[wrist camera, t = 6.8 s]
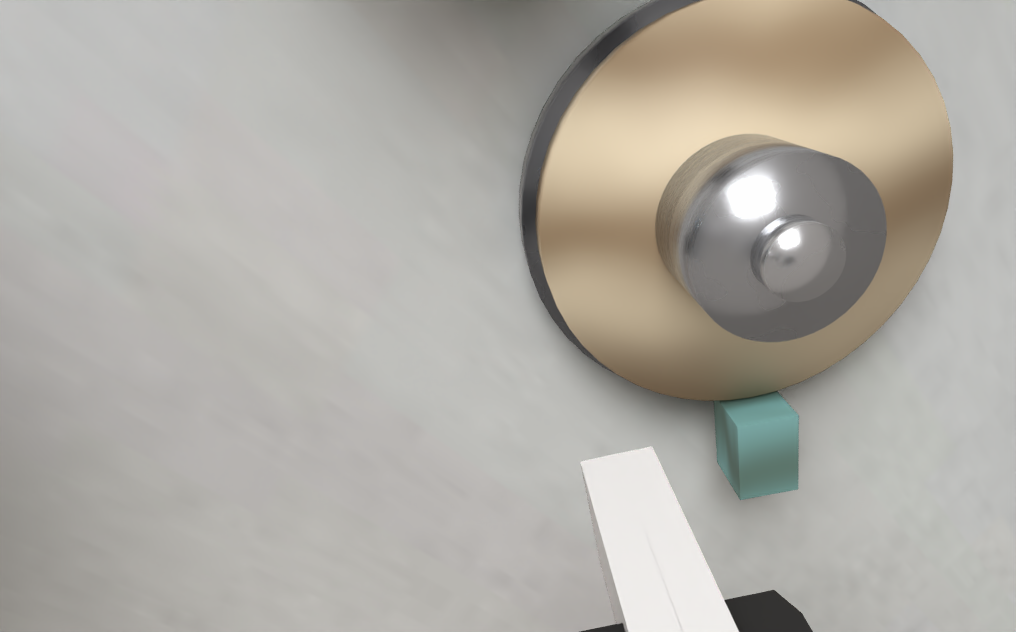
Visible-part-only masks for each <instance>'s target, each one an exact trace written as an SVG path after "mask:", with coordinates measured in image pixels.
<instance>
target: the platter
mask: <svg viewBox="0 0 1016 632" xmlns="http://www.w3.org/2000/svg"><path fill="white" fill-rule="evenodd" d="M739 134H762V135H768V136H771V137H774V138H778V139H781V140H784V141H787V142H790V143H793V144H797V145H800V146H803V147H806V148H809V149H813V150H816V151H819V152H822V153H825V154H829V155H832V156H835V157H838V158H841V159H843V160H845V161H847V162H849V163H851V164H853V165H854V166H855V167H857V168H858V169H860V170H861V171H862V172H863V173H864V174H865V175H866V176H867V177H868V178H869V179H870V180H871V182H872V183H873V185H874V186H875V187H876V189H877V191H878V193H879V195H880V197H881V199H882V203H883V206H884V209H885V215H886V221H887V236H886V244H885V249H884V253H883V257H882V260H881V263H880V265H879V268H878V270H877V272H876V274H875V276H874V278H873V280H872V282H871V283H870V285H869V286H868V288H867V289H866V291H865V292H864V294H863V295H862V296H861V297H860V298H859V300H858V301H857V302H856V303H855V304H854V305H853V306H852V307H851V308H850V309H849V310H848V311H847V312H846V313H845V314H843V315H842V316H841V317H839V318H838V319H837V320H836V321H834V322H833V323H831V324H829V325H828V326H826V327H825V328H823V329H821V330H819V331H817V332H815V333H812V334H810V335H807V336H804V337H801V338H797V339H794V340H790V341H782V342H759V341H752V340H748V339H744V338H741V337H739V336H736V335H734V334H732V333H730V332H728V331H726V330H725V329H723V328H722V327H721V326H719V325H718V324H717V323H716V322H714V320H713V319H712V318H711V317H710V316H709V315H708V314H707V313H706V312H705V311H704V309H703V308H702V307H701V306H700V305H699V304H698V303H697V302H696V301H695V299H694V298H693V297H692V296H691V295H690V294H689V293H688V292H687V291H686V289H685V288H684V287H683V286H682V285H681V284H680V283H679V282H678V281H677V279H676V278H675V277H674V276H673V275H672V274H671V273H670V272H669V270H668V269H667V267H666V266H665V264H664V262H663V260H662V258H661V256H660V254H659V250H658V247H657V242H656V236H655V221H656V213H657V209H658V205H659V202H660V199H661V196H662V194H663V191H664V189H665V188H666V186H667V184H668V182H669V180H670V179H671V178H672V176H673V175H674V173H675V172H676V171H677V170H678V168H679V167H680V166H681V165H682V164H683V163H684V162H685V161H686V160H687V159H688V158H689V157H690V156H691V155H693V154H694V153H696V152H697V151H698V150H700V149H701V148H703V147H705V146H706V145H708V144H710V143H712V142H714V141H717V140H719V139H722V138H725V137H729V136H733V135H739ZM952 173H953V147H952V137H951V127H950V123H949V119H948V115H947V111H946V107H945V103H944V100H943V98H942V96H941V93H940V91H939V88H938V86H937V84H936V81H935V79H934V77H933V75H932V73H931V72H930V70H929V69H928V67H927V65H926V64H925V62H924V61H923V59H922V57H921V56H920V54H919V53H918V52H917V51H916V50H915V49H914V47H913V46H912V45H911V44H910V43H909V42H908V41H907V39H906V38H905V37H904V36H903V35H902V34H901V33H900V32H898V31H897V30H896V29H895V28H894V27H892V26H891V25H890V24H889V23H887V22H886V21H885V20H884V19H882V18H881V17H880V16H878V15H876V14H874V13H872V12H871V11H869V10H867V9H865V8H864V7H862V6H860V5H858V4H856V3H853V2H851V1H848V0H700V1H696V2H693V3H691V4H688V5H686V6H684V7H681V8H679V9H676V10H674V11H672V12H669V13H667V14H665V15H663V16H662V17H660V18H658V19H656V20H655V21H653V22H651V23H650V24H648V25H646V26H644V27H643V28H641V29H639V30H638V31H637V32H636V33H634V34H633V35H632V36H630V37H629V38H628V39H626V40H625V41H624V42H623V43H621V44H620V45H619V46H617V47H616V48H615V49H614V50H613V51H612V52H611V53H610V54H609V55H608V56H607V57H606V58H605V59H604V60H603V61H602V62H601V63H600V64H599V65H598V66H597V67H596V68H595V69H594V70H593V71H592V73H591V74H590V75H589V76H588V78H587V79H586V80H585V81H584V83H583V84H582V85H581V87H580V88H579V89H578V90H577V92H576V93H575V95H574V96H573V98H572V100H571V101H570V103H569V105H568V106H567V108H566V109H565V111H564V113H563V114H562V116H561V118H560V120H559V122H558V124H557V127H556V129H555V131H554V133H553V136H552V138H551V140H550V142H549V145H548V148H547V152H546V155H545V158H544V161H543V165H542V168H541V172H540V178H539V184H538V190H537V196H536V219H535V224H536V234H537V244H538V250H539V255H540V259H541V263H542V267H543V271H544V274H545V277H546V280H547V282H548V285H549V288H550V290H551V293H552V295H553V298H554V300H555V303H556V306H557V308H558V309H559V311H560V313H561V315H562V316H563V318H564V320H565V322H566V324H567V325H568V327H569V328H570V330H571V331H572V332H573V334H574V335H575V336H576V337H577V339H578V340H579V341H580V343H581V344H582V345H583V346H584V347H585V348H586V349H587V350H588V351H589V352H590V353H591V354H592V355H593V356H594V357H595V358H596V359H597V360H598V361H599V362H601V363H602V364H603V365H605V366H606V367H608V368H609V369H610V370H612V371H613V372H615V373H616V374H617V375H619V376H621V377H623V378H625V379H627V380H628V381H630V382H632V383H634V384H636V385H638V386H641V387H643V388H646V389H649V390H651V391H654V392H657V393H660V394H664V395H669V396H673V397H678V398H683V399H692V400H702V401H714V413H715V431H716V448H717V462H718V464H719V466H720V467H721V469H722V471H723V472H724V474H725V476H726V477H727V479H728V480H729V482H730V484H731V485H732V487H733V489H734V490H735V492H736V494H737V495H738V497H739V499H740V500H744V499H749V498H754V497H760V496H765V495H770V494H775V493H781V492H786V491H791V490H797V489H798V430H799V415H798V414H797V413H796V412H795V411H794V410H793V409H792V408H791V406H790V405H789V404H788V403H787V402H786V401H785V400H784V399H783V398H782V396H781V395H780V394H779V393H778V392H777V391H778V390H780V389H783V388H786V387H789V386H791V385H794V384H797V383H800V382H802V381H804V380H806V379H808V378H810V377H812V376H814V375H816V374H818V373H820V372H822V371H824V370H825V369H827V368H829V367H830V366H832V365H833V364H835V363H837V362H838V361H840V360H842V359H843V358H845V357H846V356H847V355H849V354H850V353H851V352H852V351H854V350H855V349H856V348H858V347H859V346H860V345H862V344H863V343H864V342H865V341H866V340H867V339H868V338H870V337H871V336H872V335H873V334H874V333H875V332H876V331H877V330H878V329H879V328H880V327H881V326H882V325H883V324H884V323H885V322H886V321H887V320H888V319H889V318H890V316H891V315H892V314H893V313H894V312H895V311H896V309H897V308H898V307H899V306H900V305H901V304H902V302H903V301H904V299H905V298H906V297H907V295H908V294H909V292H910V291H911V289H912V288H913V287H914V285H915V284H916V282H917V281H918V279H919V277H920V275H921V273H922V272H923V270H924V268H925V266H926V264H927V263H928V261H929V259H930V257H931V254H932V252H933V250H934V247H935V245H936V243H937V240H938V238H939V235H940V233H941V229H942V226H943V222H944V219H945V216H946V212H947V209H948V204H949V197H950V191H951V185H952Z"/></svg>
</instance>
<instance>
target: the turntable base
mask: <svg viewBox="0 0 1016 632" xmlns="http://www.w3.org/2000/svg"><path fill="white" fill-rule="evenodd" d="M696 1H700V0H651V1H649V2H647V3H645V4H644V5H642V6H640V7H639V8H637V9H635V10H633V11H632V12H630V13H628V14H627V15H625V16H623V17H622V18H621V19H619V20H618V21H617V22H615V23H614V24H613V25H612V26H610V27H609V28H608V29H606V30H605V31H604V32H603V33H601V34H600V35H599V36H598V37H597V38H596V39H595V40H594V41H593V42H592V43H591V44H590V45H589V46H588V47H587V48H586V49H585V50H584V51H583V52H582V53H581V54H580V55H579V56H578V57H577V58H576V59H575V60H574V62H573V63H572V64H571V66H570V67H569V68H568V70H567V71H566V72H565V73H564V75H563V76H562V77H561V79H560V80H559V81H558V83H557V84H556V86H555V88H554V90H553V91H552V93H551V95H550V96H549V98H548V100H547V101H546V103H545V105H544V106H543V109H542V111H541V113H540V115H539V118H538V120H537V122H536V125H535V127H534V129H533V132H532V134H531V138H530V141H529V144H528V148H527V151H526V155H525V158H524V162H523V169H522V175H521V181H520V190H519V219H520V229H521V238H522V242H523V247H524V251H525V255H526V259H527V263H528V266H529V269H530V273H531V276H532V278H533V281H534V283H535V286H536V288H537V291H538V293H539V296H540V298H541V300H542V301H543V303H544V305H545V307H546V308H547V310H548V312H549V314H550V315H551V317H552V319H553V320H554V321H555V323H556V324H557V325H558V326H559V328H560V329H561V330H562V331H563V333H564V334H565V335H566V337H567V338H568V339H569V340H570V341H571V342H573V343H574V344H575V345H576V346H577V347H578V348H579V349H580V350H581V351H582V352H583V353H584V354H586V355H587V356H588V357H590V358H591V359H592V360H594V361H595V362H597V363H598V364H599V365H601V366H602V367H604V368H606V369H608V370H610V369H609V368H608V367H606V366H605V365H603V364H602V363H601V362H599V361H598V360H597V359H596V358H595V357H594V356H593V355H592V354H591V353H590V352H589V351H588V350H587V349H586V348H585V347H584V346H583V345H582V344H581V343H580V341H579V340H578V339H577V337H576V336H575V335H574V334H573V332H572V331H571V330H570V328H569V327H568V325H567V324H566V322H565V320H564V318H563V316H562V315H561V313H560V311H559V309H558V308H557V306H556V303H555V300H554V298H553V295H552V293H551V290H550V288H549V285H548V282H547V280H546V277H545V274H544V271H543V267H542V263H541V259H540V255H539V250H538V244H537V234H536V224H535V219H536V196H537V190H538V184H539V178H540V172H541V168H542V165H543V161H544V158H545V155H546V152H547V148H548V145H549V142H550V140H551V138H552V136H553V133H554V131H555V129H556V127H557V124H558V122H559V120H560V118H561V116H562V114H563V113H564V111H565V109H566V108H567V106H568V105H569V103H570V101H571V100H572V98H573V96H574V95H575V93H576V92H577V90H578V89H579V88H580V87H581V85H582V84H583V83H584V81H585V80H586V79H587V78H588V76H589V75H590V74H591V73H592V71H593V70H594V69H595V68H596V67H597V66H598V65H599V64H600V63H601V62H602V61H603V60H604V59H605V58H606V57H607V56H608V55H609V54H610V53H611V52H612V51H613V50H614V49H615V48H616V47H617V46H619V45H620V44H621V43H623V42H624V41H625V40H626V39H628V38H629V37H630V36H632V35H633V34H634V33H636V32H637V31H638V30H639V29H641V28H643V27H644V26H646V25H648V24H650V23H651V22H653V21H655V20H656V19H658V18H660V17H662V16H663V15H665V14H667V13H669V12H672V11H674V10H676V9H679V8H681V7H684V6H686V5H688V4H691V3H693V2H696ZM848 1H851V2H853V3H856V4H858V5H860V6H862V7H864V8H865V9H867V10H869V11H871V12H872V13H874V12H873V11H872V10H871V9H869V8H868V7H867V6H866V5H864V4H863V3H861V2H859V1H857V0H848ZM874 14H876V13H874ZM876 15H877V14H876ZM610 371H612V370H610ZM612 372H613V371H612ZM614 373H615V372H614ZM615 374H616V373H615Z"/></svg>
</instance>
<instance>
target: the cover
mask: <svg viewBox="0 0 1016 632" xmlns="http://www.w3.org/2000/svg"><path fill="white" fill-rule="evenodd" d="M655 236H656V242H657V247H658V250H659V254H660V256H661V258H662V260H663V262H664V264H665V266H666V267H667V269H668V270H669V272H670V273H671V274H672V275H673V276H674V277H675V278H676V279H677V281H678V282H679V283H680V284H681V285H682V286H683V287H684V288H685V289H686V291H687V292H688V293H689V294H690V295H691V296H692V297H693V298H694V299H695V301H696V302H697V303H698V304H699V305H700V306H701V307H702V308H703V309H704V311H705V312H706V313H707V314H708V315H709V316H710V317H711V318H712V319H713V320H714V322H716V323H717V324H718V325H719V326H721V327H722V328H723V329H725V330H726V331H728V332H730V333H732V334H734V335H736V336H739V337H741V338H744V339H748V340H752V341H759V342H782V341H790V340H794V339H797V338H801V337H804V336H807V335H810V334H812V333H815V332H817V331H819V330H821V329H823V328H825V327H826V326H828V325H829V324H831V323H833V322H834V321H836V320H837V319H838V318H839V317H841V316H842V315H843V314H845V313H846V312H847V311H848V310H849V309H850V308H851V307H852V306H853V305H854V304H855V303H856V302H857V301H858V300H859V298H860V297H861V296H862V295H863V294H864V292H865V291H866V289H867V288H868V286H869V285H870V283H871V282H872V280H873V278H874V276H875V274H876V272H877V270H878V268H879V265H880V263H881V260H882V257H883V253H884V249H885V244H886V236H887V221H886V215H885V209H884V206H883V203H882V199H881V197H880V195H879V193H878V191H877V189H876V187H875V186H874V185H873V183H872V182H871V180H870V179H869V178H868V177H867V176H866V175H865V174H864V173H863V172H862V171H861V170H860V169H858V168H857V167H855V166H854V165H853V164H851V163H849V162H847V161H845V160H843V159H841V158H838V157H835V156H832V155H829V154H825V153H822V152H819V151H816V150H813V149H809V148H806V147H803V146H800V145H797V144H793V143H790V142H787V141H784V140H781V139H778V138H774V137H771V136H768V135H762V134H739V135H733V136H729V137H725V138H722V139H719V140H717V141H714V142H712V143H710V144H708V145H706V146H705V147H703V148H701V149H700V150H698V151H697V152H696V153H694V154H693V155H691V156H690V157H689V158H688V159H687V160H686V161H685V162H684V163H683V164H682V165H681V166H680V167H679V168H678V170H677V171H676V172H675V173H674V175H673V176H672V178H671V179H670V180H669V182H668V184H667V186H666V188H665V189H664V191H663V194H662V196H661V199H660V202H659V205H658V209H657V213H656V221H655Z"/></svg>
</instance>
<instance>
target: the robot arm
mask: <svg viewBox="0 0 1016 632" xmlns="http://www.w3.org/2000/svg"><path fill="white" fill-rule="evenodd" d="M580 462H581V467H582V473H583V478H584V483H585V488H586V493H587V498H588V504H589V509H590V514H591V519H592V524H593V529H594V535H595V540H596V545H597V550H598V555H599V560H600V564H601V568H602V572H603V575H604V579H605V583H606V587H607V590H608V594H609V598H610V602H611V606H612V609H613V613H614V617H615V621H616V624H615V625H610V626H605V627H600V628H595V629H590V630H586V631H581V632H813V631H812V630H811V628H810V626H809V625H808V623H807V621H806V619H805V618H804V616H803V614H802V613H801V612H800V611H799V610H797V609H796V608H795V607H794V606H793V605H791V604H790V603H789V602H788V601H787V600H785V599H784V598H783V597H782V596H781V595H779V594H778V593H777V592H776V591H775V590H771V591H766V592H762V593H757V594H752V595H747V596H742V597H737V598H732V599H727V600H724V599H723V597H722V594H721V592H720V590H719V588H718V586H717V584H716V582H715V579H714V577H713V575H712V573H711V571H710V569H709V567H708V564H707V562H706V560H705V558H704V556H703V554H702V552H701V550H700V547H699V545H698V543H697V541H696V539H695V537H694V535H693V532H692V530H691V528H690V526H689V524H688V522H687V520H686V518H685V515H684V513H683V511H682V509H681V507H680V505H679V503H678V500H677V498H676V496H675V494H674V492H673V490H672V488H671V486H670V483H669V481H668V479H667V477H666V475H665V473H664V471H663V468H662V466H661V464H660V462H659V460H658V458H657V456H656V454H655V451H654V449H653V447H652V446H651V447H646V448H642V449H637V450H632V451H627V452H623V453H618V454H613V455H608V456H604V457H599V458H594V459H589V460H585V461H580Z"/></svg>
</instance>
